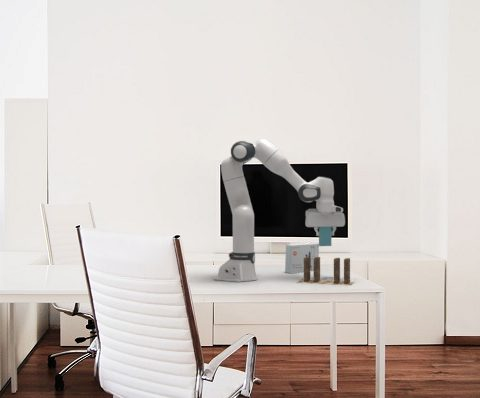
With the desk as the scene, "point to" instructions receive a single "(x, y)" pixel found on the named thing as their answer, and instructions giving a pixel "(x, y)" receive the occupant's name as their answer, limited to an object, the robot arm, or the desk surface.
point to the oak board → (325, 282)
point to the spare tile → (325, 236)
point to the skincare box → (300, 256)
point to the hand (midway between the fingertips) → (325, 235)
